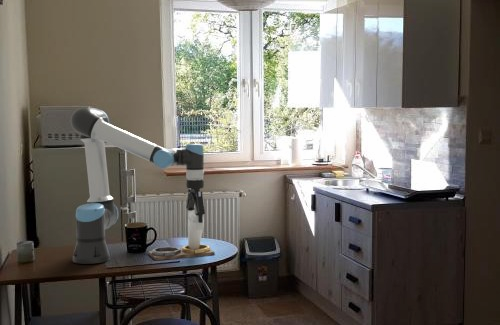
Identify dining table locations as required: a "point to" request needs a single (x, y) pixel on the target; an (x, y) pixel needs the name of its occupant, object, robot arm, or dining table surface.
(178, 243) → the dining table surface
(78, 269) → the dining table surface
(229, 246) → the dining table surface
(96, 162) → the robot arm
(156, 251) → the near collar
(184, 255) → the walnut board
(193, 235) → the drinking glass
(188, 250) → the far collar
